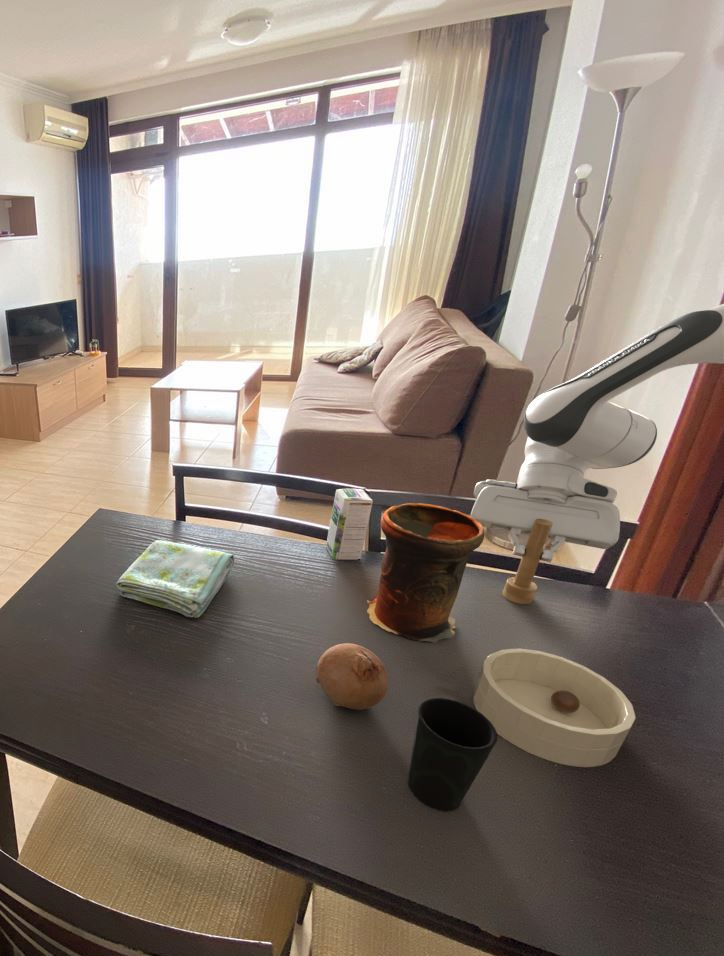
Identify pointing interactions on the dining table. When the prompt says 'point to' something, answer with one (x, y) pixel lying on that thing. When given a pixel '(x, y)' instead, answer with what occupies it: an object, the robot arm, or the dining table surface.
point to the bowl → (552, 707)
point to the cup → (448, 751)
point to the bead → (565, 701)
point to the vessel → (423, 569)
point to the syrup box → (348, 524)
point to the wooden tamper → (528, 565)
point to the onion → (352, 676)
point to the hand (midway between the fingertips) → (532, 557)
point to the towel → (176, 577)
